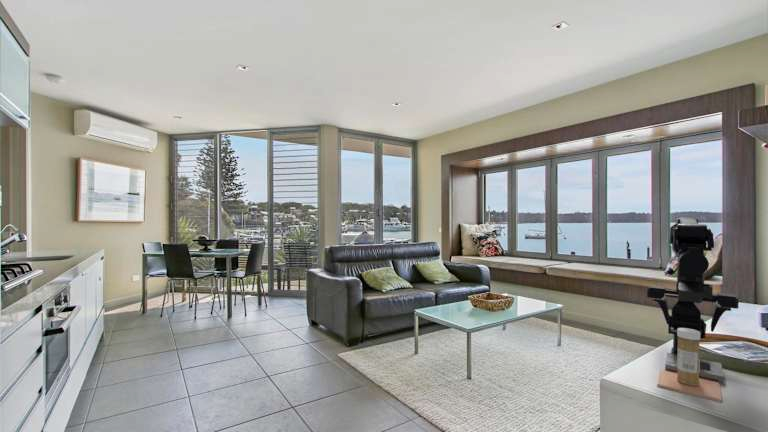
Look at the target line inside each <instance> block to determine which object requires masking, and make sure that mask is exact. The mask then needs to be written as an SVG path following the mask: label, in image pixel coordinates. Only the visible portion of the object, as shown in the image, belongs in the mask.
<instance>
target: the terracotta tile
mask: <svg viewBox="0 0 768 432" xmlns="http://www.w3.org/2000/svg"><path fill="white" fill-rule="evenodd" d="M677 374H678V373H674V372H670V371H666V370H665V369H660V370H659V375H658V381H657V387H658V386H659V388H662V387H663V388H664V389H666V390H670V391H675V392H680V393H683V394H688V395H691V396H695V397H700V398H702V399H703V398H704V399H707V400H712V401H715V402H719V403H722V402H723V398H722V391H721V384H719V382H715V381H710V380H706V379H701V378H699V383H700V385H699V386H689V385H685V384H683V383H680V382H679V381H677V376H678V375H677Z"/></svg>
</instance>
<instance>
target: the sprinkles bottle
mask: <svg viewBox="0 0 768 432" xmlns="http://www.w3.org/2000/svg"><path fill="white" fill-rule="evenodd" d="M677 336H678V353H677V368H678V374H677V375H678V376H677V381H679V382H680V383H683V384H685V385H689V386H699V385H700V383H699V372H700V360H699V359H700V342H701V341H700V340H701V338H700V332H699V331H697V330H694V329H689V328H678V329H677Z"/></svg>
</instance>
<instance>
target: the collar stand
mask: <svg viewBox="0 0 768 432" xmlns="http://www.w3.org/2000/svg"><path fill="white" fill-rule="evenodd" d="M699 360H700V372H699V378H701V379H706V380H710V381H715V382H719V385H725V375H724V371H723V365H722V363H721V362H716V361H713V360H712V361H711V360H707V359H706V360H705V359H702V358H699ZM664 364H665V365H664V370H666V371H670V372H674V373H678V368H677V354H672V353H671V352H667V353H666V358H665V363H664Z"/></svg>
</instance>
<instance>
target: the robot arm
mask: <svg viewBox="0 0 768 432" xmlns="http://www.w3.org/2000/svg"><path fill="white" fill-rule="evenodd" d="M676 221H677V222H676V223H675V224H673V225H672V226H670V228H669V245H671V250H672V252H673V253H674V255H675V256H676V257H677V260H676V261H677V263H676V265H677V270H676V290H671V289H666V286H662V285H654V284H653V285H652V284H651V285H650V286H648V287H647V290H646V293H647V294H646V297H647V298H648V299H650V298H651V299H652V301H653V302H656V303H657V305H659V307H660V309H661V311H662V314H663V317H664V319H665V322H666V325H667V326H668V327H667V331H668V332H667V333H668V334H669V335H672V337H673V338H672V347H671V350H670V353H672V354H677V353H678V336H677V329H678V328H689V329H694V330H697V331H699V332H700V340H703V339H706V331H707V323H706V322H705V321H704V318H702V314H701V311H700V309H699V308H698V306H697V305H696V304H701V303H703V302H708V303H714V306H713V311H712V315H711V323H710V332H712V333H713V332H714V330H715V329H716V326H717V324H718V322H719V320H720V318H721V317H722V316H723V314H724V313H725V312H727V311H728V312H731V311H732V309H736V310H737V309H739V298H738V297H737V295H736V294H734V293H725V292H718V291H717V292H716V295H714V294H713V284H708V283H705V273H706V271H708V269H709V265H710V262H709V260H708V258H707V257H706V254H705V251H707V252H711V251H713V250H712V249H714V248H715V241H714V239H715V238H714V232H712V229H710V228H708V225H707V224H704V223H703V224H700V223H699V218H696V217H679V218H677V219H676ZM667 297H668V298H676V299H677V302H676V303H675V304H674V305H673V307H672V308H671V311H670V312H671V313H670V312H669V306H668V298H667Z"/></svg>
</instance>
